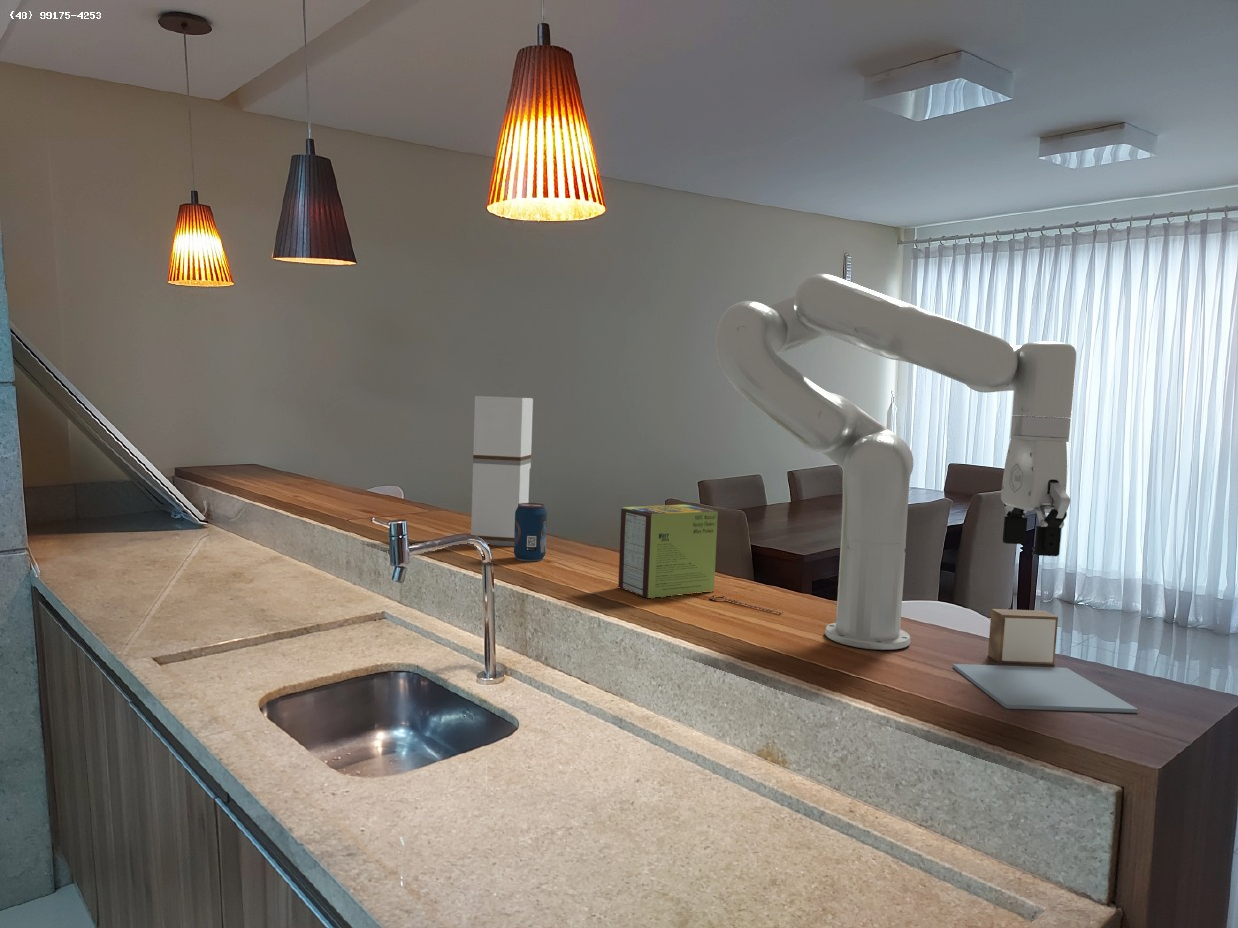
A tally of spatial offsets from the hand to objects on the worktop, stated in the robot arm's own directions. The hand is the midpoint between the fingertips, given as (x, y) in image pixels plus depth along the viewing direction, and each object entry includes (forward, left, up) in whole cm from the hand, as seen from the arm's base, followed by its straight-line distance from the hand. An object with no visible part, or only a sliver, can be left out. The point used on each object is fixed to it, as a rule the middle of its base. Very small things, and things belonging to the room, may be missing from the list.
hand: (1029, 549), depth 123 cm
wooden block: (0, 0, -16) cm, 16 cm away
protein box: (-38, -49, -17) cm, 64 cm away
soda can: (-64, -77, -17) cm, 102 cm away
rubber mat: (+13, -4, -16) cm, 21 cm away
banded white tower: (-85, -86, -16) cm, 122 cm away
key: (-28, -35, -17) cm, 48 cm away
